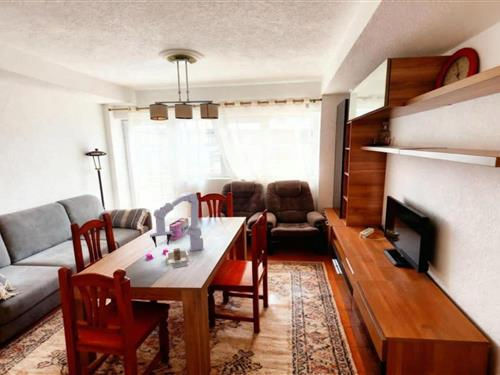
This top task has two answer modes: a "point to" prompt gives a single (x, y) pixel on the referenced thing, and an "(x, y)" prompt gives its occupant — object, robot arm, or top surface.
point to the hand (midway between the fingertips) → (162, 245)
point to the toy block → (152, 256)
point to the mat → (180, 264)
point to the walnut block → (177, 254)
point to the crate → (171, 260)
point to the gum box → (179, 228)
